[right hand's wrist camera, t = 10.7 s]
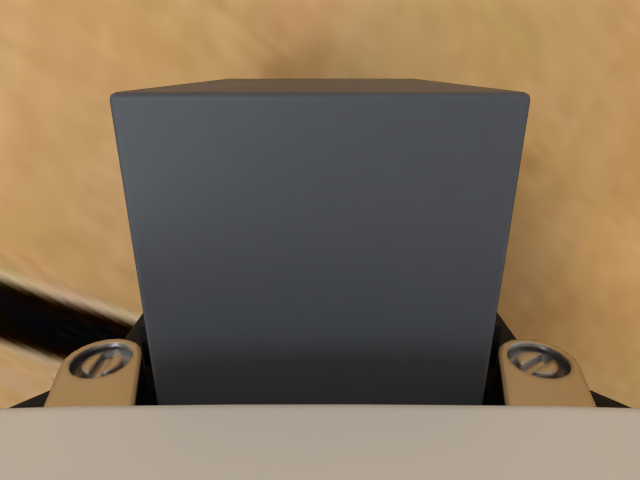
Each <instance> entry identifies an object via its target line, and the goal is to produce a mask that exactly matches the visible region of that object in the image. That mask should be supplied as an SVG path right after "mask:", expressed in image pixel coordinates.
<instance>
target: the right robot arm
mask: <svg viewBox="0 0 640 480" xmlns="http://www.w3.org/2000/svg"><path fill="white" fill-rule="evenodd" d="M0 480H640V409H637V408H630V407H628V406H626V405H623V404H621V403H619V402H616V401H614V400H612V399H609V398H607V397H605V396H602V395H600V394H598V393H595V392H593V391H591V390H589V388H588V385H587V383H586V380H585V378H584V375H583V373H582V370H581V368H580V366H579V364H578V363H577V361H576V360H575V359H574V358H573V357H572V356H571V355H569V354H568V353H567V352H565V351H564V350H562V349H560V348H558V347H556V346H553V345H551V344H548V343H545V342H541V341H536V340H529V339H516V338H515V337H514V335H513V334H512V333H511V331H510V330H509V328H508V327H507V326H506V324H505V323H504V321H503V320H502V319H501V317H500V316H499V314H498V313H497V314H496V320H495V326H494V333H493V339H492V346H491V352H490V358H489V365H488V371H487V377H486V384H485V390H484V396H483V403H482V405H373V404H289V405H158V403H157V396H156V390H155V384H154V377H153V371H152V365H151V358H150V352H149V345H148V339H147V333H146V326H145V320H144V314H142V315H141V317H140V318H139V320H138V321H137V322H136V324H135V325H134V326H133V328H132V329H131V331H130V332H129V333H128V335H127V336H126V338H125V339H124V340H123V339H111V340H104V341H99V342H95V343H92V344H89V345H87V346H84V347H82V348H80V349H78V350H76V351H75V352H73V353H72V354H71V355H69V356H68V357H67V358H66V359H65V360H64V361H63V363H62V364H61V366H60V368H59V370H58V373H57V375H56V378H55V380H54V383H53V385H52V388H51V390H50V391H48V392H45V393H43V394H41V395H38V396H36V397H34V398H31V399H29V400H27V401H24V402H22V403H19V404H17V405H15V406H12V407H10V408H4V409H0Z"/></svg>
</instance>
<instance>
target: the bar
mask: <svg viewBox="0 0 640 480" xmlns="http://www.w3.org/2000/svg"><path fill="white" fill-rule="evenodd" d="M529 104H530V97H529V94H526V93H524V92H518V91H510V90H501V89H493V88H485V87H476V86H468V85H460V84H451V83H443V82H435V81H427V80H418V79H224V80H215V81H207V82H198V83H190V84H181V85H173V86H165V87H156V88H148V89H139V90H131V91H122V92H116V93H114V94H111V96H110V105H111V111H112V117H113V124H114V130H115V136H116V143H117V149H118V155H119V162H120V168H121V174H122V181H123V187H124V193H125V200H126V206H127V212H128V219H129V225H130V231H131V238H132V244H133V250H134V257H135V263H136V269H137V276H138V282H139V288H140V295H141V301H142V307H143V314H144V320H145V326H146V333H147V339H148V345H149V352H150V358H151V365H152V371H153V377H154V384H155V390H156V396H157V403H158V405H289V404H373V405H482V403H483V396H484V390H485V384H486V377H487V371H488V365H489V358H490V352H491V346H492V339H493V333H494V326H495V320H496V314H497V307H498V301H499V295H500V288H501V282H502V276H503V269H504V263H505V256H506V250H507V244H508V237H509V231H510V225H511V218H512V212H513V206H514V199H515V193H516V186H517V180H518V174H519V167H520V161H521V155H522V148H523V142H524V136H525V129H526V123H527V117H528V110H529Z"/></svg>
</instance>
